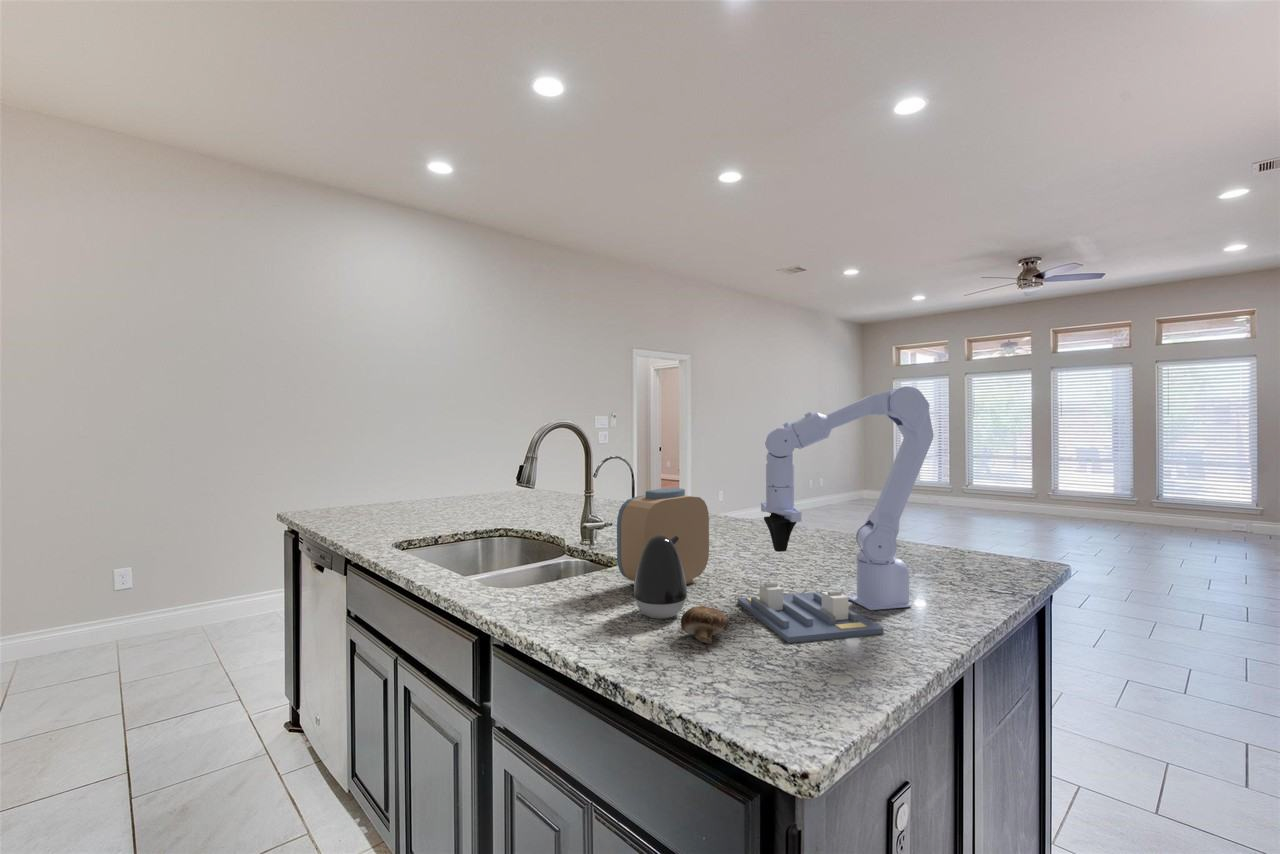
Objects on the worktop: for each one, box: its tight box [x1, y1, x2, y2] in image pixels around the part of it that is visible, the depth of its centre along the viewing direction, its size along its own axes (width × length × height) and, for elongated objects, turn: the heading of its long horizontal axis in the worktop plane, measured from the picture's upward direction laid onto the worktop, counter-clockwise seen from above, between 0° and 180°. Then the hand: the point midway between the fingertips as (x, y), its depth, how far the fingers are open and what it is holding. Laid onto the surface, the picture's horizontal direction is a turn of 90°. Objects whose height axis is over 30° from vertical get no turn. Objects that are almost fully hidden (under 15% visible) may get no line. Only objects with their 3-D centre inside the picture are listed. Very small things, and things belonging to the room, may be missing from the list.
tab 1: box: [759, 582, 784, 610], centre depth 112 cm, size 3×4×5 cm
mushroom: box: [680, 605, 730, 645], centre depth 98 cm, size 8×8×6 cm
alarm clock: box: [616, 487, 710, 586], centre depth 132 cm, size 21×10×22 cm, turn 133°
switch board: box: [737, 591, 884, 644], centre depth 109 cm, size 18×22×2 cm
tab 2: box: [821, 589, 849, 620], centre depth 106 cm, size 3×4×5 cm
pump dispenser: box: [633, 536, 688, 620], centre depth 111 cm, size 10×10×15 cm
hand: (780, 550), depth 121 cm, fingers closed
